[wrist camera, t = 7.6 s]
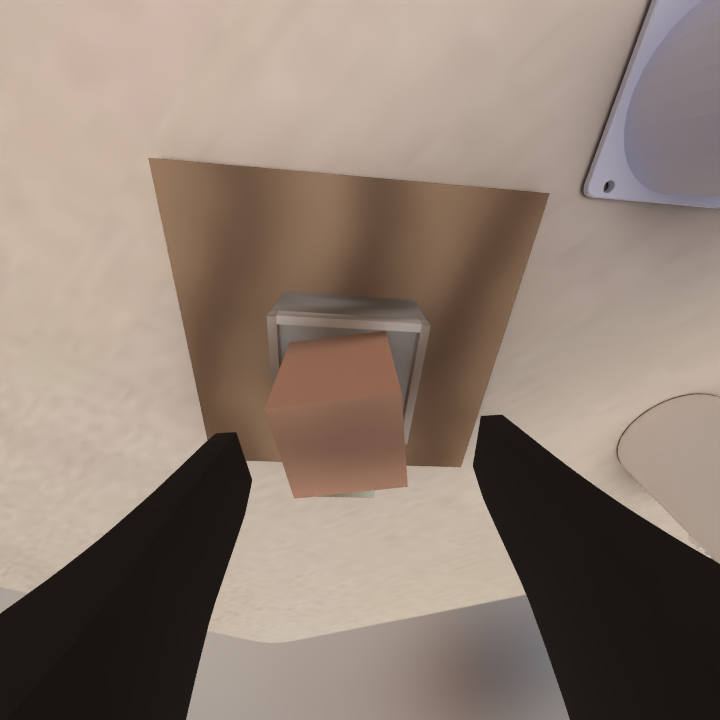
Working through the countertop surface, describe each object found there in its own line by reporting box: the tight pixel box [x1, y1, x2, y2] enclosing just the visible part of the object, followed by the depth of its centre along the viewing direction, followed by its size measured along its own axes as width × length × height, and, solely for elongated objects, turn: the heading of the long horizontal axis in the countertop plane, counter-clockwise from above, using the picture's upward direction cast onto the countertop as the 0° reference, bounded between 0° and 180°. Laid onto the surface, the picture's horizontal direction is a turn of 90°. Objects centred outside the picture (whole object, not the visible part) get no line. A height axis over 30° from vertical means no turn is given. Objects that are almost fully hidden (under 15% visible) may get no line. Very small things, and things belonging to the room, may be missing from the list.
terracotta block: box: [265, 331, 408, 499], centre depth 13 cm, size 4×4×5 cm
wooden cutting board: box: [149, 158, 549, 498], centre depth 17 cm, size 18×18×5 cm
